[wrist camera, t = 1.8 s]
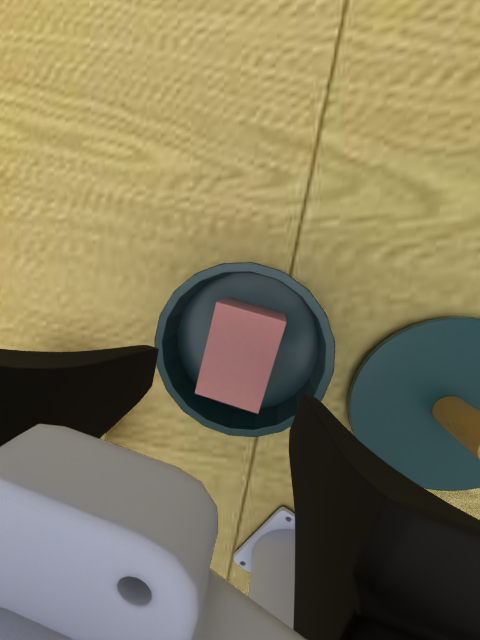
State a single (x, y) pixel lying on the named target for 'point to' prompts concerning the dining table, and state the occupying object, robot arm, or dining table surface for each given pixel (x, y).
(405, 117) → the dining table surface
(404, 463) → the lid
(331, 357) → the tin
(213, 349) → the soap
